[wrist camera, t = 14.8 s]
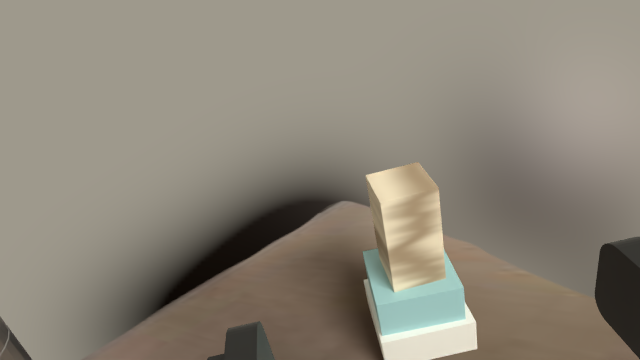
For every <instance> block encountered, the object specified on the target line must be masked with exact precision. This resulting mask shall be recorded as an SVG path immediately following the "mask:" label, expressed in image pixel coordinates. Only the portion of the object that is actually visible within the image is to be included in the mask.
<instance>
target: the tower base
mask: <svg viewBox="0 0 640 360" xmlns="http://www.w3.org/2000/svg"><path fill="white" fill-rule="evenodd" d="M364 285H365V290H366V295H367V300H368V305H369V309H370V312H371V316H372V319H373V323H374V326H375V330H376V334H377V337H378V341H379V344H380V348H381V352H382V355H383V359H384V360H429V359H434V358H438V357H443V356H447V355H452V354H456V353H461V352H465V351H470V350H474V349H477V335H476V321H475V320H474V318H473V316H472V314H471V312H470V310H469V309H468V307H467V305H466V303H465V316H466V319H464V320H459V321H454V322H449V323H444V324H440V325H435V326H430V327H425V328H420V329H415V330H410V331H405V332H400V333H395V334H390V335H385V336H382V333H381V329H380V325H379V321H378V317H377V313H376V309H375V305H374V301H373V298H372V294H371V290H370V286H369V282H368V279H365V280H364Z"/></svg>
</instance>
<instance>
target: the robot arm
mask: <svg viewBox="0 0 640 360" xmlns="http://www.w3.org/2000/svg"><path fill="white" fill-rule="evenodd" d="M595 300H596V303H597V306H598V309H599V311H600V313H601V315H602V316H603V318H604V319H605V320H606V322H607V323H608V324H609V325H610V326H611V327H612V328H613V329H614V331H615V332H616V333H617V334H618V335H619V336H620V337H621V338H622V340H623V341H624V342H625V343H626V344H627V345H628V346H629V347H630V349H631V350H632V351H633V352H634V353H635V354H636V355H637V357H638V358H639V359H640V237H634V238H629V239H625V240H620V241H616V242H611V243H607V244H604V245H603V246H602V247H601V249H600V255H599V263H598V271H597V279H596V287H595ZM0 360H32V359H31V357H30V356H29V355H28V353H27V352H26V351H25V349H24V348H23V347H22V345H21V344H20V342H19V341H18V340H17V338H16V337H15V336H14V334H13V333H12V332H11V330H10V329H9V328H8V326H7V325H6V324H5V322H4V321H3V320H2V318H1V317H0ZM207 360H275V359H274V356H273V354H272V351H271V348H270V345H269V342H268V340H267V337H266V334H265V331H264V328H263V326H262V324H261V322H260V321H259V322H254V323H250V324H245V325H241V326H237V327H232V328H228V330H227V333H226V342H225V353H224V354H221V355H217V356H212V357H208V359H207Z"/></svg>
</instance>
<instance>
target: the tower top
mask: <svg viewBox="0 0 640 360" xmlns="http://www.w3.org/2000/svg"><path fill="white" fill-rule="evenodd" d="M363 256H364V262H365V267H366V272H367V277H368V282H369V286H370V290H371V294H372V298H373V301H374V305H375V309H376V313H377V317H378V321H379V325H380V329H381V333H382V336H385V335H390V334H395V333H400V332H405V331H410V330H415V329H420V328H425V327H430V326H435V325H440V324H444V323H449V322H454V321H459V320H464V319H466V316H465V300H464V287H463V285H462V283H461V281H460V280H459V278H458V276H457V274H456V272H455V270H454V268H453V266H452V264H451V262H450V260H449V258H448V256H447V254H446V252H445V250H444V260H445V272H446V279H442V280H439V281H435V282H431V283H427V284H424V285H420V286H416V287H413V288H409V289H405V290H401V291H398V292H394V290H393V288H392V286H391V284H390V281H389V279H388V277H387V275H386V272H385V270H384V268H383V266H382V263H381V261H380V258H379V252H378V248H377V249H372V250H368V251H363Z"/></svg>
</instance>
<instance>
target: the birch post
mask: <svg viewBox="0 0 640 360" xmlns="http://www.w3.org/2000/svg"><path fill="white" fill-rule="evenodd" d="M366 182H367V187H368V193H369V199H370V205H371V211H372V217H373V223H374V229H375V234H376V240H377V246H378V252H379V258H380V261H381V263H382V266H383V268H384V270H385V272H386V275H387V277H388V279H389V281H390V284H391V286H392V288H393V290H394V292H398V291H401V290H405V289H409V288H413V287H416V286H420V285H424V284H427V283H431V282H435V281H439V280H442V279H446V272H445V260H444V248H443V235H442V223H441V212H440V199H439V188H438V187H437V185H436V184H435V183H434V182H433V181H432V179H431V178H430V177H429V175H428V174H427V173H426V172H425V170H424V169H423V168H422V167H421V165H420V164H419V163H418V162H416V163H412V164H409V165H404V166H401V167H396V168H393V169H389V170H385V171H381V172H377V173H373V174H369V175H366Z"/></svg>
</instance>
